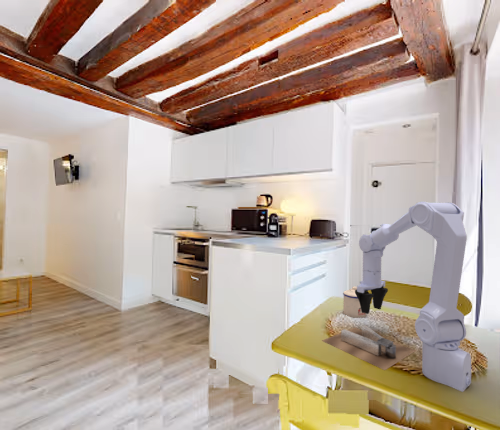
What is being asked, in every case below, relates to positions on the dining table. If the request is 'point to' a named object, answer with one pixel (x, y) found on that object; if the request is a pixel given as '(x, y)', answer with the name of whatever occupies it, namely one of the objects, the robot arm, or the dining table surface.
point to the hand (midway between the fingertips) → (371, 310)
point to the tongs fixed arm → (365, 342)
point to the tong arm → (372, 335)
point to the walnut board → (369, 357)
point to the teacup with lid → (352, 304)
